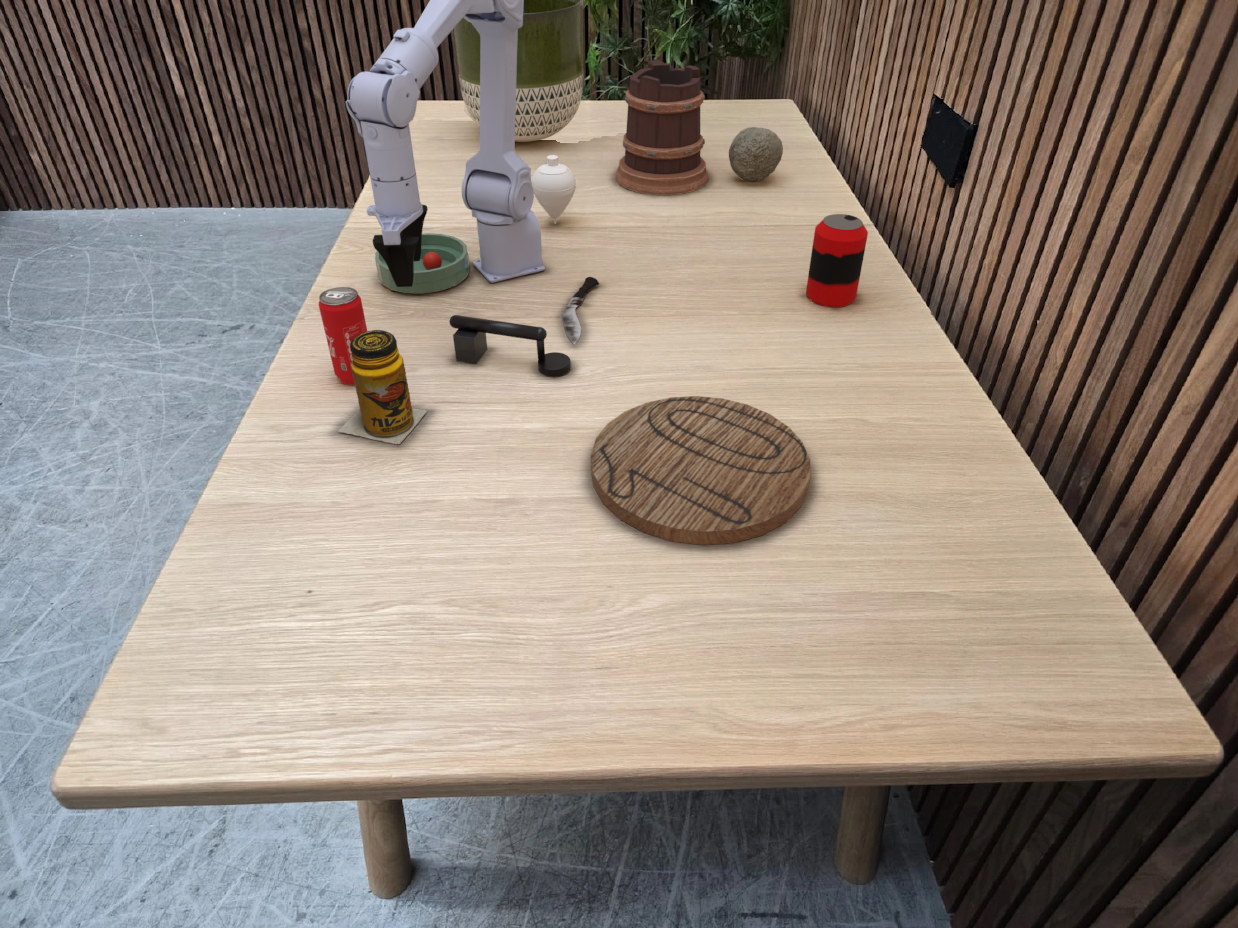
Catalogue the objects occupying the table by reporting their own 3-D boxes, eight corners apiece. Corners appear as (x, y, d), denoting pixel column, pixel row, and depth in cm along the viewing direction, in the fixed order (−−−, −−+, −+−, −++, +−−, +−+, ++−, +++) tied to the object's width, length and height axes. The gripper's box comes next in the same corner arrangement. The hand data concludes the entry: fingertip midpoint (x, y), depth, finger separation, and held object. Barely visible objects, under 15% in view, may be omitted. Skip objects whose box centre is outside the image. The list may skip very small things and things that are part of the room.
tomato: (439, 264, 143) (436, 247, 142) (445, 272, 141) (443, 254, 140) (421, 269, 142) (418, 251, 140) (427, 276, 140) (425, 258, 138)
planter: (465, 119, 204) (452, -13, 187) (581, 115, 206) (578, -15, 189) (462, 159, 183) (446, 15, 166) (590, 154, 185) (588, 12, 169)
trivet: (750, 577, 89) (752, 563, 88) (548, 492, 100) (547, 479, 98) (841, 449, 106) (843, 436, 105) (659, 387, 116) (659, 375, 115)
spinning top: (526, 229, 156) (521, 160, 148) (545, 213, 161) (541, 146, 154) (566, 235, 153) (563, 167, 146) (583, 219, 159) (582, 152, 152)
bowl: (451, 249, 149) (448, 226, 147) (483, 283, 139) (480, 259, 137) (368, 267, 144) (363, 244, 141) (395, 304, 134) (391, 280, 132)
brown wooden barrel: (696, 152, 186) (701, 50, 174) (717, 193, 169) (725, 82, 156) (608, 155, 185) (607, 52, 172) (620, 197, 167) (620, 86, 155)
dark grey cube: (487, 349, 124) (485, 323, 121) (476, 364, 121) (473, 338, 118) (467, 346, 124) (464, 320, 122) (456, 361, 121) (452, 335, 119)
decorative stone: (729, 189, 170) (734, 136, 164) (724, 173, 177) (728, 121, 171) (783, 188, 171) (789, 136, 164) (775, 172, 177) (781, 121, 171)
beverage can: (366, 389, 116) (348, 307, 108) (329, 384, 117) (309, 303, 109) (382, 368, 120) (366, 287, 112) (346, 364, 121) (328, 284, 113)
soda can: (865, 295, 136) (879, 221, 129) (838, 313, 132) (851, 237, 124) (823, 280, 140) (834, 207, 133) (795, 297, 136) (806, 222, 128)
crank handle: (575, 362, 121) (573, 324, 117) (564, 379, 118) (563, 340, 114) (460, 344, 125) (455, 307, 121) (447, 360, 121) (442, 322, 118)
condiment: (399, 445, 106) (383, 359, 99) (337, 432, 108) (317, 347, 101) (428, 412, 112) (414, 328, 104) (368, 400, 114) (350, 317, 106)
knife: (592, 339, 124) (557, 341, 124) (593, 348, 125) (558, 349, 125) (599, 276, 138) (567, 277, 139) (599, 284, 139) (568, 285, 139)
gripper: (371, 154, 118) (387, 250, 126) (350, 196, 107) (369, 298, 115) (424, 154, 118) (437, 249, 127) (409, 195, 107) (424, 297, 115)
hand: (408, 272), depth 121 cm, fingers open, 7 cm apart
